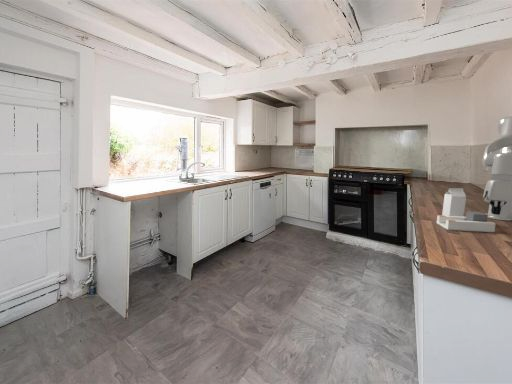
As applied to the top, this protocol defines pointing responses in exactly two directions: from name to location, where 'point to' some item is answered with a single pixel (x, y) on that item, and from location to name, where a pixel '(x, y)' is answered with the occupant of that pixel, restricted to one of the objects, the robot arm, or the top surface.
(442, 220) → the chute
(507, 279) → the top surface
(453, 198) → the milk carton
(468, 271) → the top surface
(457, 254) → the top surface
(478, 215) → the block
